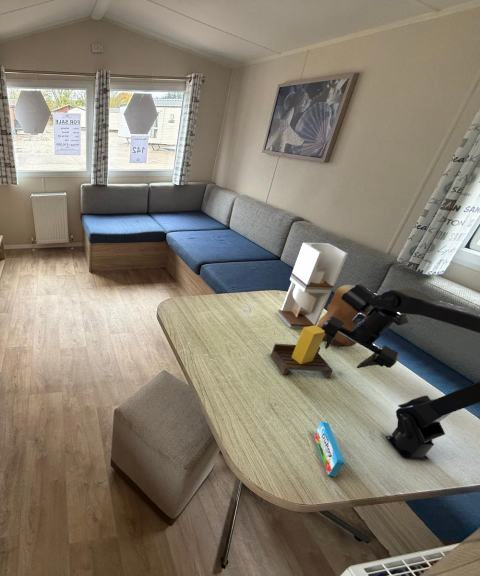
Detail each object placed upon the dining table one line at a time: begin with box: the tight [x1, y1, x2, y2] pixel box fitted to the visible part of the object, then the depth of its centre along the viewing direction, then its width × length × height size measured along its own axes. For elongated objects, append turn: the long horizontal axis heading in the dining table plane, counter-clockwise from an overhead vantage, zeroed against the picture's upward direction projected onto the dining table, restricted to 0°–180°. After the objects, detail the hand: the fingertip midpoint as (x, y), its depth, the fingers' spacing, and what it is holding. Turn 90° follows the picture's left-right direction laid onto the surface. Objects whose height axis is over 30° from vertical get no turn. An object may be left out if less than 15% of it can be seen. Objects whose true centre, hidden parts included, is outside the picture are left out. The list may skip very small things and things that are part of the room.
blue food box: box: [313, 420, 345, 478], centre depth 80 cm, size 12×2×6 cm, turn 163°
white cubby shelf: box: [277, 241, 349, 329], centre depth 130 cm, size 11×11×35 cm
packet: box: [291, 325, 325, 364], centre depth 107 cm, size 4×6×13 cm
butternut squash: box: [316, 284, 369, 348], centre depth 119 cm, size 14×13×25 cm
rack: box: [270, 343, 334, 379], centre depth 111 cm, size 10×16×6 cm, turn 86°
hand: (341, 357), depth 98 cm, fingers open, 9 cm apart
